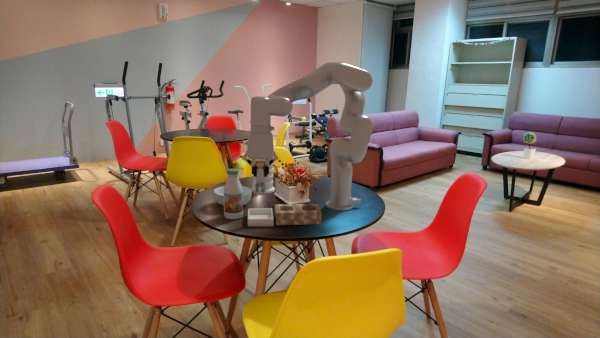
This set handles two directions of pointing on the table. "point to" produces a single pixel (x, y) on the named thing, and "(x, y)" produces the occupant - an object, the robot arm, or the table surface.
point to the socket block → (297, 214)
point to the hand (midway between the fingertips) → (260, 175)
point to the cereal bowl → (220, 194)
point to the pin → (260, 176)
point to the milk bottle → (233, 196)
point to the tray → (260, 217)
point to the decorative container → (266, 180)
